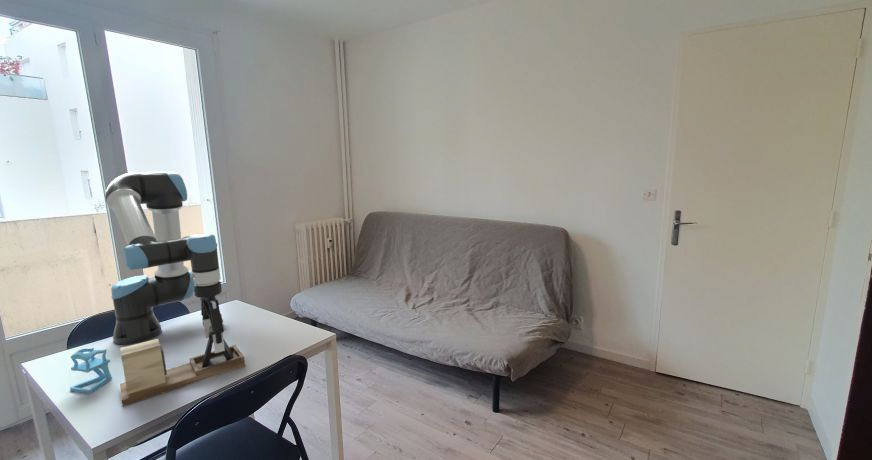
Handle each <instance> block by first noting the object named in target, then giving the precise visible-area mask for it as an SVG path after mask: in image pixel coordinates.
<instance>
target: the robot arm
mask: <svg viewBox="0 0 872 460" xmlns="http://www.w3.org/2000/svg"><path fill="white" fill-rule="evenodd" d="M104 197H105V202H106V204H107V206H108V208H110V209H111V210H112V211H113V212H114V214H115V217H116V220H117V223H118V225H119V228H120V229H121V232H122V235H123V238H124V240H125V242H126V246H123V247H122V251H121V253H122V259H123V263H124V265H125V268H126V269H127V270H130V271H131V270H141V269H142V270H143V269H147V268H148V269H149V268H153V267H158V268H157V269H156V270H155V271H154V277H148V276H147V275H145V274H142V275H135V276H131V277H127V278H125V279H121V280H119V281H117V282H116V283H114V284H113V285H112V286H111V288H110V290H111V300H112V303H113V310H114V315H115V327H114V330H113V335H112V340H113V343H114V344H115V345H130V344H131V345H133V344H138V343H142V342H146V341H149V340H150V339H152V338H155V337H157V336H158V335H160V334H161V332H162V325H161V323H160V321H159V320H158V319H157V317H156V315H155V313H154V307H158V306H159V307H160V306H163V305H167V304H173V303H176V302H182V301H185V300H188V299H190V298H192V296H193V295H194V296H195V297H196V298H201V300H200V306H201V307H200V308H201V309H200V310H201V311H200V312H201V313H200V315H201V316H202V318H203V319H205V320H203V321H202V323H203V322H204V325H203V328H204V337H205V339H209V328H210V326H212V330H213V332H212V333H211V335H213V351H215V353H219V352H222V351H225V349H224V340H225V339H224V340H223V338H224V332H225V329H224V325H223V324H222V323H223V322H222V319H223V318H222V319H221V315H222V314H221V315H220V313H221V311H220V305H219V304H220V303H219V300H218V299H217V298H216V296H218V295H220V294H221V293H222V292H223V291H222V290H223V289H222V282H221V278H222V277H221V270H220V264H219V253H218V243H217V239H216V236H215V234H212V233H199V234H198V233H197V234H193V235H186V236H183V237H182V232H181V222H180V221H181V220H180V212H179V211H180V209H182V207H183V202H186V201H187V200H188V191H187V187H186V185H185V182H184V179H183V177H182V176H181V175H180V174H179V173H178V172H175V171H147V172H128V173H124V174H122V175H119V176H118V177H115V178H114V179H113V180H112V181H110V183H109V184H108V186H107V188H106V190H105V195H104ZM143 204H145V206H146V209H147V210H149V211H151V215H152V222H153V228H152V227H151V226H152V225H150V222H149V219H148V217H147V216H146V214H145V211H144V209H143V207H142V205H143ZM189 261H190V266H191V270H189V267H188V266H186V265H185V264H184V262H189ZM217 329H218V330H217Z"/></svg>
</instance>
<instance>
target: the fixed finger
mask: <svg viewBox="0 0 872 460" xmlns="http://www.w3.org/2000/svg"><path fill="white" fill-rule="evenodd" d="M119 349H120V350H119V351H120V356H121V357H120V358H121V363H122V367H123V373H124V380H125V382H126V386H127V392H128V394H130V393H134V392H137V391H140V390H143V389H146V388H149V387H152V386H156V385H159V384H162V383H165V382H166V380H165V375H167V371H166V370H167V366H166V359H165V351H164V349H163V345H162V344H160V341H159V338H154V339H151V340H150V339H149V340H145V341H141V342H137V343H133V344H131V345H130V344H129V345H127V346H122V347H120V348H119Z"/></svg>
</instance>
